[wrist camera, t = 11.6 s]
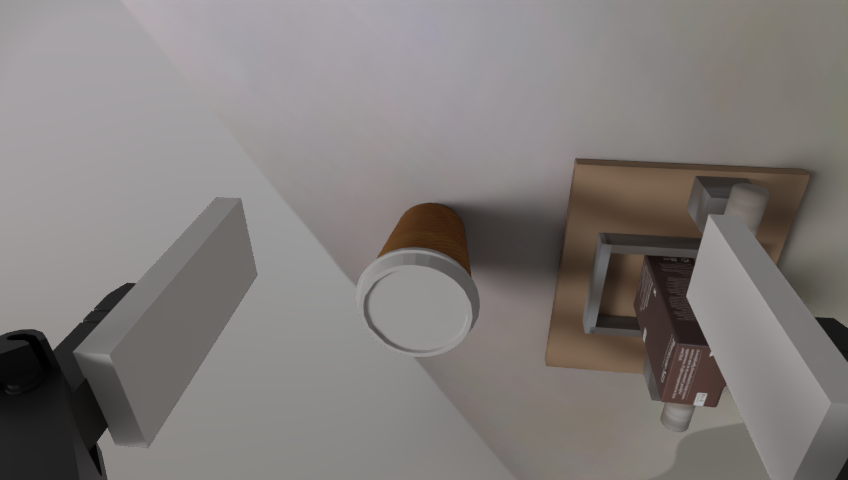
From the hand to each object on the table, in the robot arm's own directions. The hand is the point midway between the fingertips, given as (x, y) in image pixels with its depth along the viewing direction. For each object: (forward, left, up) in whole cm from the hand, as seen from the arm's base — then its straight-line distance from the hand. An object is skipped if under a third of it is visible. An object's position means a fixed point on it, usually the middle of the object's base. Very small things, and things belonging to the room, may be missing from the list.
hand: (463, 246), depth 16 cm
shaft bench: (+21, +17, -31) cm, 41 cm away
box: (+21, +17, -30) cm, 40 cm away
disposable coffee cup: (+18, -4, -31) cm, 36 cm away
